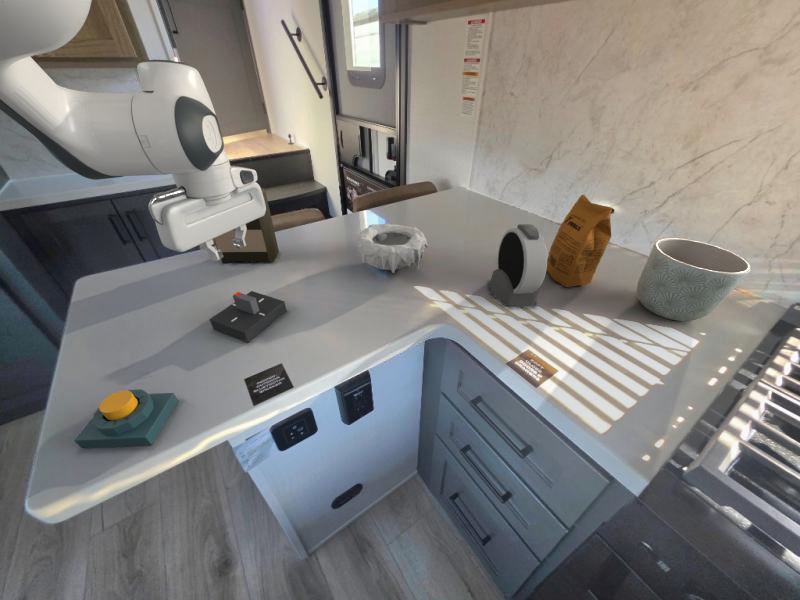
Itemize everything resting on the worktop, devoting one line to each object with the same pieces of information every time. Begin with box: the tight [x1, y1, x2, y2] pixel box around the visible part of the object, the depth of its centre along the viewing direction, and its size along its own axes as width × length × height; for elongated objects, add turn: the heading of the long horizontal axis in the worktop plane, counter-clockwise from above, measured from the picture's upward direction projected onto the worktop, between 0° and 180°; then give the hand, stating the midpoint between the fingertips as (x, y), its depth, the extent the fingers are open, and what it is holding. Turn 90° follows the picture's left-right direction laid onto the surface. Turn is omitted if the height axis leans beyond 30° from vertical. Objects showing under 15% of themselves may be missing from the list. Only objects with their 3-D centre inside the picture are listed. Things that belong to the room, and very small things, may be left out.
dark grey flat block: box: [209, 290, 288, 344], centre depth 71 cm, size 12×10×3 cm
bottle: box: [212, 187, 280, 264], centre depth 89 cm, size 8×16×25 cm, turn 93°
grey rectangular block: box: [232, 291, 259, 314], centre depth 69 cm, size 5×2×4 cm, turn 66°
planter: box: [636, 237, 752, 322], centre depth 74 cm, size 17×17×15 cm
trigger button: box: [98, 390, 138, 421], centre depth 48 cm, size 4×4×2 cm
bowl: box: [356, 223, 429, 274], centre depth 91 cm, size 21×20×10 cm
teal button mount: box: [73, 389, 179, 449], centre depth 49 cm, size 10×8×4 cm
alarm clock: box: [489, 223, 548, 308], centre depth 78 cm, size 16×10×18 cm, turn 6°
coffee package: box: [546, 194, 615, 288], centre depth 84 cm, size 10×12×22 cm
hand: (229, 252), depth 62 cm, fingers open, 4 cm apart
